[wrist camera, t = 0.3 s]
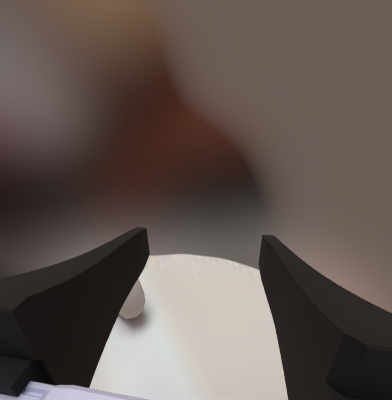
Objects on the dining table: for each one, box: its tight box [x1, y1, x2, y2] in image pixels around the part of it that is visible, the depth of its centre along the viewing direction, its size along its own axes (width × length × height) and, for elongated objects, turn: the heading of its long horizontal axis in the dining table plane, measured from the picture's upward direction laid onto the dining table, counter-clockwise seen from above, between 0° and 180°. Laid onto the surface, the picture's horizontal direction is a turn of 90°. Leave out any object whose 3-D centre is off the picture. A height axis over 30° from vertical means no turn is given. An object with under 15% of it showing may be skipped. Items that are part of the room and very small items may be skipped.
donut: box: [119, 280, 145, 319], centre depth 28 cm, size 10×4×10 cm, turn 51°
